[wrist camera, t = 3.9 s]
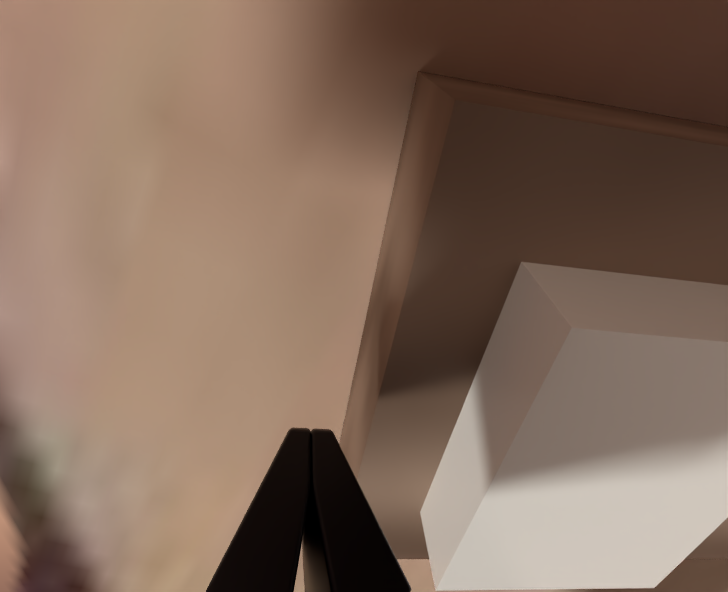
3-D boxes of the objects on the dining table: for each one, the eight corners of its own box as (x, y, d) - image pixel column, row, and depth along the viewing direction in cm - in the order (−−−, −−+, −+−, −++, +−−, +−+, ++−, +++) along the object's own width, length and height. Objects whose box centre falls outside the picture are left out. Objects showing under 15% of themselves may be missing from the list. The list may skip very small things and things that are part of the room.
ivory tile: (612, 515, 14) (654, 587, 12) (420, 511, 13) (435, 590, 11) (792, 292, 9) (894, 357, 8) (521, 261, 8) (571, 327, 7)
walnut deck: (677, 482, 18) (733, 558, 16) (333, 471, 16) (336, 559, 14) (952, 168, 11) (1128, 216, 9) (418, 71, 9) (455, 99, 7)
